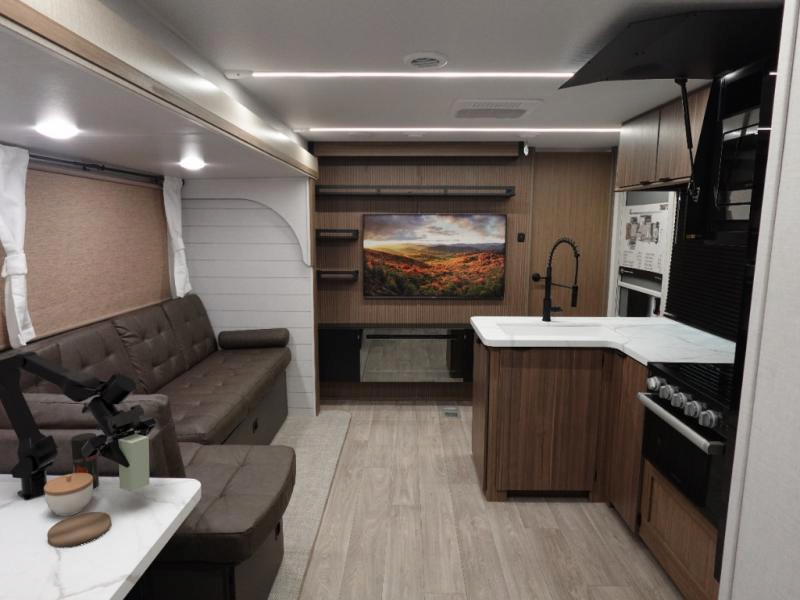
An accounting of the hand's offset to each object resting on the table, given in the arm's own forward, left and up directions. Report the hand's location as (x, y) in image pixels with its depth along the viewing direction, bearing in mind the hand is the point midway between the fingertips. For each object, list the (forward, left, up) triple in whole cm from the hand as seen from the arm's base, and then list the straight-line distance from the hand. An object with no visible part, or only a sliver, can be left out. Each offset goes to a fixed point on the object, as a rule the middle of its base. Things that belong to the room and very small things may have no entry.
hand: (137, 462), depth 131 cm
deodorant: (-23, -3, -13) cm, 27 cm away
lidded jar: (-13, -11, -13) cm, 22 cm away
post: (-1, 0, -7) cm, 7 cm away
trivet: (0, -14, -12) cm, 19 cm away
